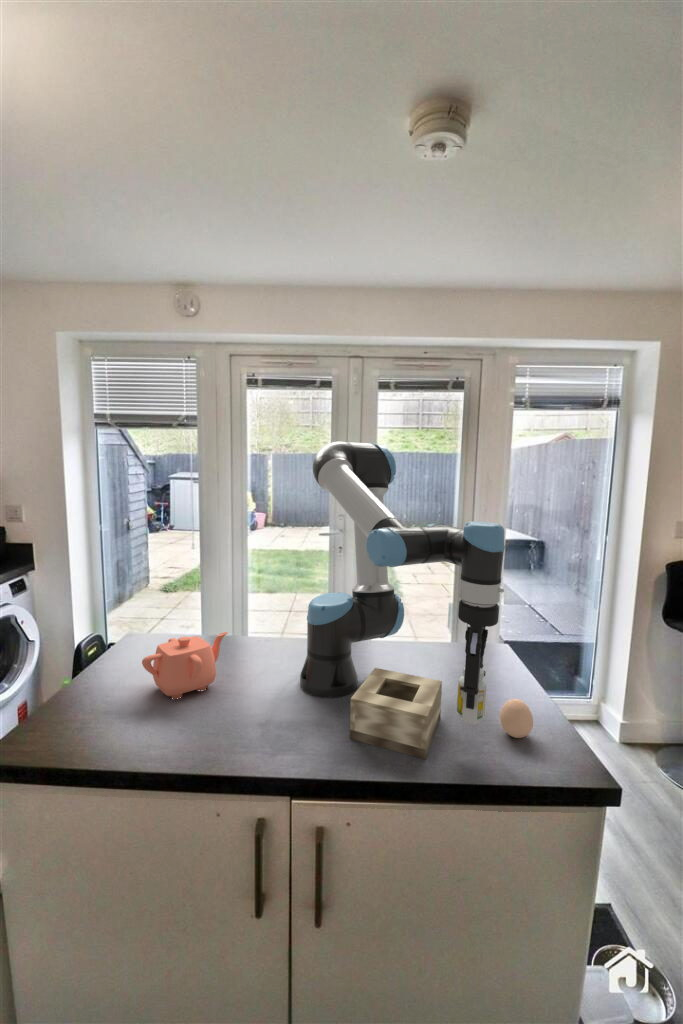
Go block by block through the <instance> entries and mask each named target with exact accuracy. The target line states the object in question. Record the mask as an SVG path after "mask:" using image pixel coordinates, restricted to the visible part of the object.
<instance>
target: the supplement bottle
mask: <svg viewBox="0 0 683 1024" xmlns="http://www.w3.org/2000/svg"><path fill="white" fill-rule="evenodd" d="M484 671H485V670H484V669H483V668H480V674H479V685H478V689H479V698H478V711H477V723H478V722H481V721H482V720H483V719H484V717H485V711H486V710H485V709H486V697H487V682H486V680H485V679H484V677H485V676H484ZM464 676H465V665H464V666H463V668H462V675H461V676H460V677H459V679H458V687H457V698H456V700H457V701H456V714H457V715H458V716H459V718H461V719H462V712H463V698H464V692H463V690H460V687H461V686H464Z"/></svg>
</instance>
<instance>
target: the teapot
mask: <svg viewBox="0 0 683 1024" xmlns="http://www.w3.org/2000/svg"><path fill="white" fill-rule="evenodd" d="M227 634H228V631H225V632H224V631H223V632H221V633H219V634H218V635H217V636H216V637H215V639H214V641H213V644H212V645H213V646H212V645H211V644H210V643H209V642H208V641H206V640H205V639H203V638H202V637H199V635H198V636H182V637H181V636H180V637H179V638H174V637H171V638H169V639H168V640H167V641H166V642H163V643H160V644H158V645H157V647H156V650H155V653H154V654H151V655H147V656H145V657H144V658H143V659H141V660H142V661H141V664H142V667H143V668H144V670H145V671H146V672H147V673H150V675H152V678H153V682H154V683H155V685H156V686H157V688H158V689H159V690H160V691H161V692H162V693H163V695H166V696H167V697H172V698H173V699H177V698H180V697H182V698H183V694H185V693H189V692H193V691H195V690H196V689H197V690H200V691H201V690H205V689H206V688H207V689H208V687H207V686H209V685H210V684H213V683H214V682H215V679H216V676H217V669H216V667H217V666H216V662H217V661H218V659H219V656H220V650H221V643H222V640H223V639H224V638H225V636H226V635H227ZM152 661H153V663H152ZM197 690H196V691H197ZM205 691H206V690H205ZM180 699H181V698H180Z"/></svg>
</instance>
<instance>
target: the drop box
mask: <svg viewBox="0 0 683 1024" xmlns="http://www.w3.org/2000/svg"><path fill="white" fill-rule="evenodd" d="M442 682H443V681H442V680H440V679H434V678H429V677H424V676H419V675H414V674H409V673H408V674H407V673H404V672H403V673H402V672H398V671H394V670H389V669H383V668H379V667H374V668H373V670H372V671H371V672H370V673H369V675H368V676H367V677H366V678H365V680H364V681H363V683H362V684H361V685H360V686H359V687H358V688H357V690H356V691H355V692H354V693H353V695H352V696H351V697H350V709H349V710H350V717H349V719H350V720H349V721H350V722H349V739H350V740H354V741H357V742H360V743H365V744H368V745H371V746H375V747H378V748H382V749H387V750H389V751H393V752H394V751H395V752H397V753H401V754H404V755H408V756H412V757H415V758H419V759H423V760H427V757H428V754H429V752H430V749H431V746H432V743H433V740H434V739H435V734H436V732H437V729H438V725H439V723H440V720H441V712H442V711H441V710H442V708H441V706H442V687H443V683H442Z"/></svg>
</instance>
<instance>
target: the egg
mask: <svg viewBox="0 0 683 1024" xmlns="http://www.w3.org/2000/svg"><path fill="white" fill-rule="evenodd" d="M533 717H534V716H533V714H532V712H531V709H530V707H529V706H528V705H527V703H525V702H524V701H523V700H521V699H518V698H512V699H509V700H507V701H506V702H505V703H504V704H503V705H502V707H501V709H500V712H499V722H500V725H501V727H502V729H503V730H504V732H505V733H506V734H508V735H509V736H511V737H512V738H515V739H517V738H518V739H521V738H525V737H526V736H528V735H529V734H531V731H532V730H533V727H534V718H533Z"/></svg>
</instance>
